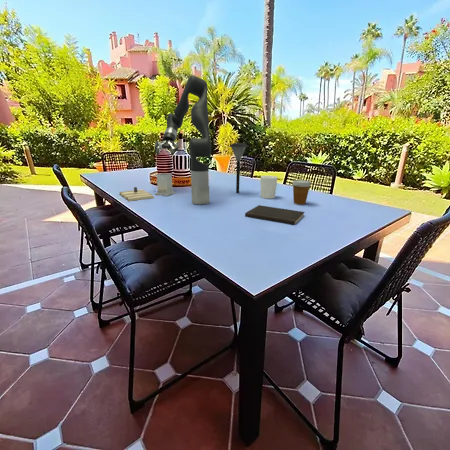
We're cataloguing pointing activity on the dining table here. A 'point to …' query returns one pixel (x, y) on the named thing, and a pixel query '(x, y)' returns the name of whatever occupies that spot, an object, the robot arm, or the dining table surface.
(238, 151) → the solar garden light
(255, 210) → the hardcover book
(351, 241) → the dining table surface
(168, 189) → the sleeve
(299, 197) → the disposable coffee cup
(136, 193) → the base plate
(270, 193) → the white paper cup
